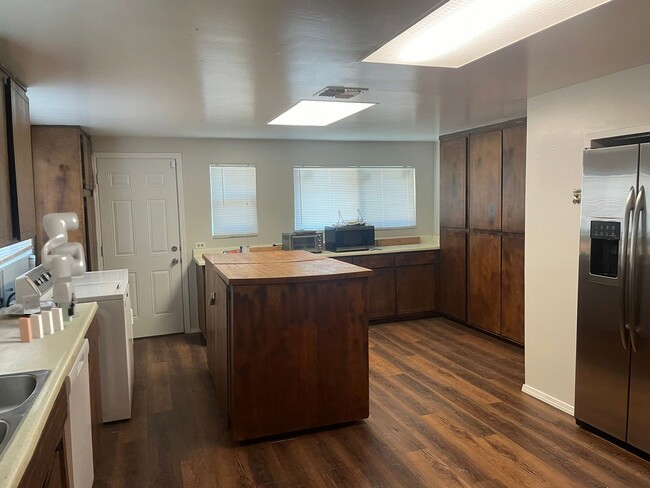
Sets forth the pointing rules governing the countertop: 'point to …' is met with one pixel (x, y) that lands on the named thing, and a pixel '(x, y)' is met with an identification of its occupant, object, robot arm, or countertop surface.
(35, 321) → the domino
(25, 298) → the small box
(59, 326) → the domino
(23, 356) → the countertop surface
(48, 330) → the domino
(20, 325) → the domino
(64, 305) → the domino
